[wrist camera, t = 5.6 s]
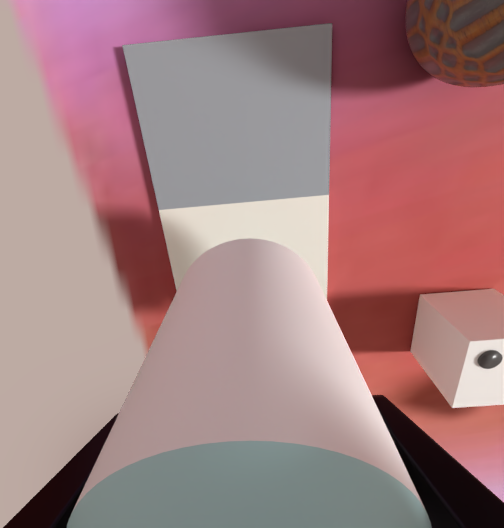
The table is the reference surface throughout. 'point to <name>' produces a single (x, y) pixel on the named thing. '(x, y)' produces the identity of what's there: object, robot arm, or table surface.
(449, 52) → the vase
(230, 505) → the can
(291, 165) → the board
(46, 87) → the table surface
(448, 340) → the die
